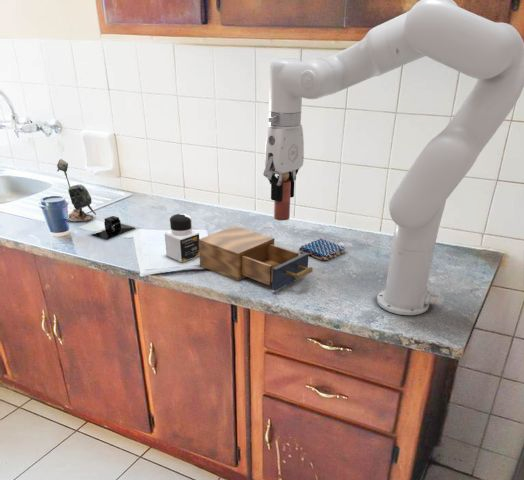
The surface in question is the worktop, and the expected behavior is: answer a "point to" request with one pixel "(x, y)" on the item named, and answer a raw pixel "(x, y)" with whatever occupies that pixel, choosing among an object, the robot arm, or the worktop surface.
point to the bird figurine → (77, 197)
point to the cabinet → (229, 250)
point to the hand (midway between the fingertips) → (282, 197)
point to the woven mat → (322, 249)
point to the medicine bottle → (182, 239)
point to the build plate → (112, 228)
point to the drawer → (274, 265)
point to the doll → (283, 200)
